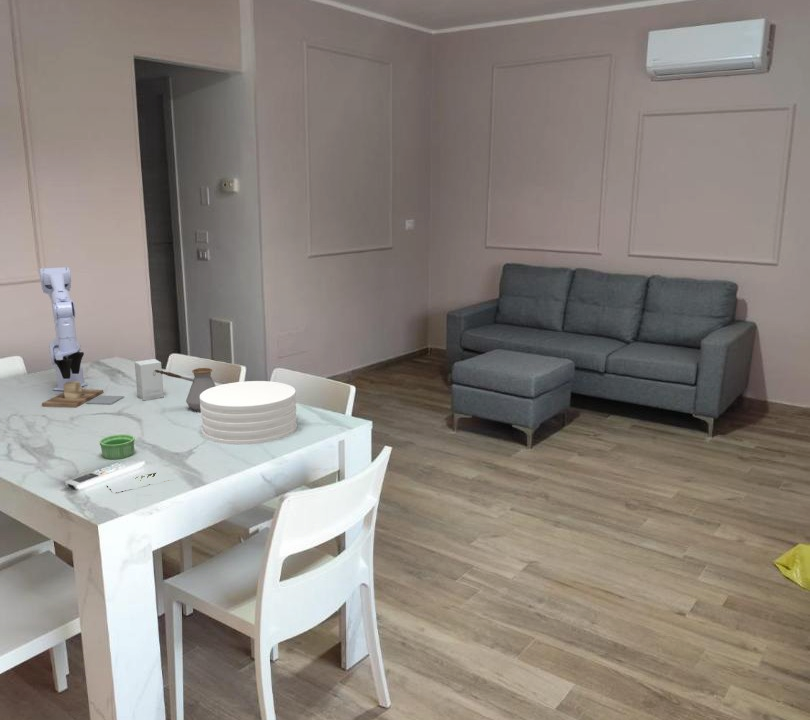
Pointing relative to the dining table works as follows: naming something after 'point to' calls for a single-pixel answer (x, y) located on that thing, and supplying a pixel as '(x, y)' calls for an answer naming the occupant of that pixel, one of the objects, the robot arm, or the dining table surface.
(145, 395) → the supplement box
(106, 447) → the ramekin
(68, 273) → the robot arm
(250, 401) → the plate stack
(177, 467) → the dining table surface
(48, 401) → the walnut pocket board
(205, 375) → the coffee pot
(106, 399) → the slate rubber mat
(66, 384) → the beech block
